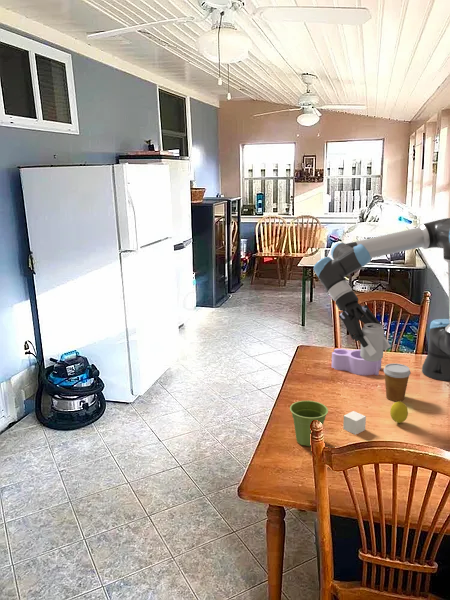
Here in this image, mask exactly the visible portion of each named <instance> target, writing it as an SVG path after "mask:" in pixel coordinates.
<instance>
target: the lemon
mask: <svg viewBox="0 0 450 600" xmlns="http://www.w3.org/2000/svg"><path fill="white" fill-rule="evenodd" d="M389 413H390V417H391V419H392V420H393V421H394V422H396V423H397V424H401V423H403V422H405V421H406V420H407V419H408V415H409V411H408V406H407V405H406V404H405V403H404V402H403V401H394V403H392V405H391V407H390V412H389Z"/></svg>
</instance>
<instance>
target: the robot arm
mask: <svg viewBox="0 0 450 600" xmlns="http://www.w3.org/2000/svg"><path fill="white" fill-rule="evenodd" d="M418 248H422V249H424V250H427V249H434V248H437V249H443V252H442V253H443V254H442V255H443V260H444V261H445V262H447V265H448V267H447V269H448V275H447V277H448V310H449V311H448V314H449V315H448V316H449V318H436V319H432V321H431V322H430V325H429V333H428V334H429V335H428V347H427V349H428V350H427V354H426V355H427V356H426V358H425V360H424V362H423V364H422V367H421V373H422V374H423V375H425V376H426V377H428V378H431V379H434V380H437V381H439V380H440V381H450V217H449V218H447V217H446V218H441V219H437V220H434V221H430V222H429V221H428V222H426V223H422V224H419V225H418V226H417V227H416V228H411V229H406V230H402V231H397V232H393V233H388V234H384V235H379V236H376V237H371V238H366V239H361V240H357V241H354V242H352V241H351V242H347V243H345V242H338V243H336V244H334V245H333V246H332V247H331V252H330V253H331V254H330V255H331V257H330V256H325V257H323V258H321V259H319V260H318V261H317V262H316V263H315V264H314V265H313V272H314V273H315V275H316V276H317V278H318V280H319V281H320V283H321V284H322V286H323V287H324V289H325V290H326V291H327V293H328V294H329V296H330V298H331V299H332V300H333V301H334V302H335V305H336V307H337V308H338V310H339V311H340V312H341V313H340V314H339V315H338V317H339V319H340V320H341V321H342V322H343V324H344V326H345V328H346V330H347V332H348V333H349V335H350V337H351V339H352V340H353V341H355V342H359V343H360V346H361V345H362V346H363V347H364V348H365V349H366V351H367V352H368V354H369V356H372V355H373V354H375V353H376V350H375V349H374V347H373V346H372V344H371V343H370V341H369V340H368V338H367V337H366V336H364V337H363V333H362V327H361V325H360V322H362V323H363V325H364V324H367V323H376V324H380V325H382V326H383V324H382V323H381V321H379V320H378V318H377V317H376V315H375V314H374V313H373V312H372V310H370V308H369V306H368V305H367V304H365V305H361V304H360V303H359V297H358V296H357V295H356V293H355V292H354V291H353V289H352V288H353V287H351V286H350V284H349V282H348V281H347V280H346V277H347V276H349V275H351V274H352V273H354V272H357V271H358V270H359V269H362V268H363V267H365V266H366V265H367V264H369V263H370V262H371V260H372V259H374V258H377V257H383V256H388V255H392V254H396V253H402V252H405V251H410V250H415V249H418ZM383 327H384V326H383ZM391 347H392V346H391V344H390V342H389V341H388V340H387V338H386V336H385V335H384V347H383V352H384V351H387V350H388V349H390V348H391Z"/></svg>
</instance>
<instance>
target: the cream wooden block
mask: <svg viewBox="0 0 450 600" xmlns="http://www.w3.org/2000/svg"><path fill="white" fill-rule="evenodd" d="M366 417H367V416H366V415H365V414H364V415H363V414H362V413H359V412H357V411H356V410H352V411H350V412H348V413H346V414H345V415H343V426H342V428H343V430H344V431H347V432H349V433H351V434H353V435H355V436H356V434H357V435H359V434H360V433H362V432H364V431H366V420H367V418H366Z"/></svg>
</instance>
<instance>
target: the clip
mask: <svg viewBox="0 0 450 600" xmlns="http://www.w3.org/2000/svg"><path fill="white" fill-rule="evenodd" d="M360 352H361V348H360V349H347V348H334V349H333V351H332V352H331V368H332V369H333V368H334V370H337V371H347V372H349V373H351V374H353V375H357V376H372V375H375V376H379V372H380V370H382V359H383V358H382V359H380V360H379V361H375V362H371V361H366V360H364V359H363V358H362V357H361V356H360Z"/></svg>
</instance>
